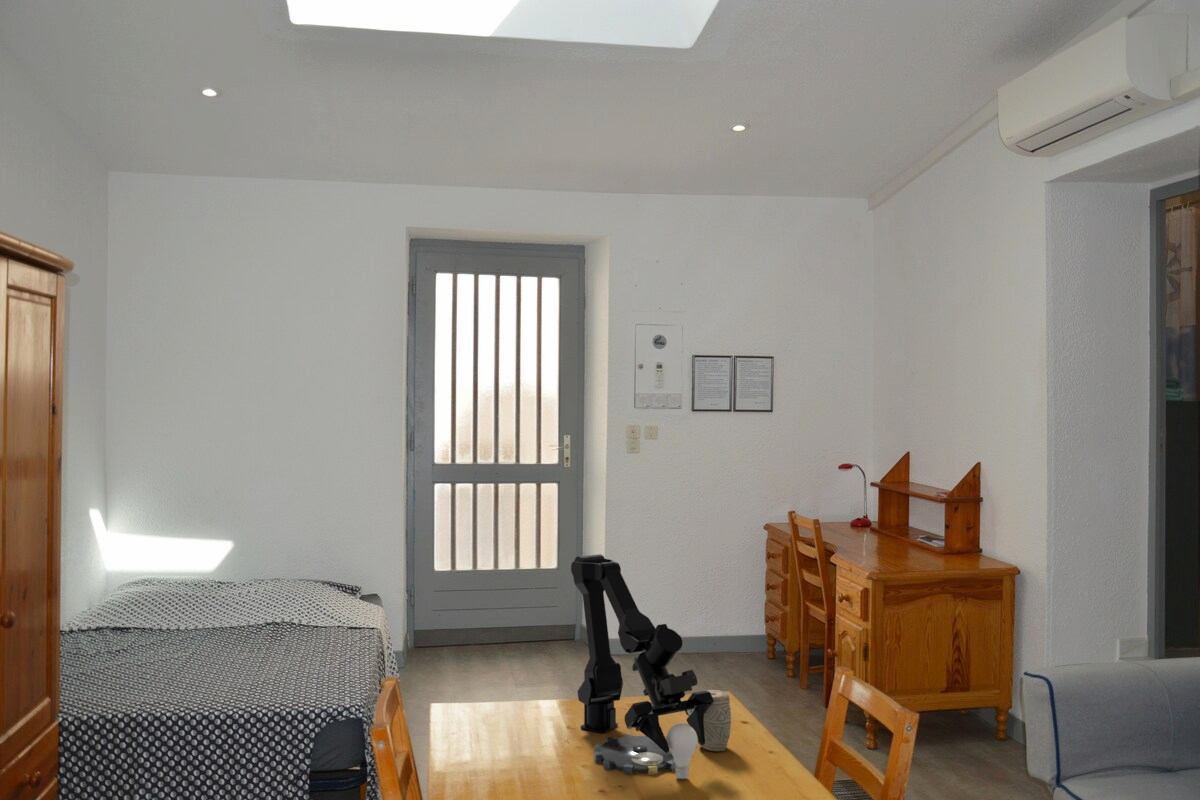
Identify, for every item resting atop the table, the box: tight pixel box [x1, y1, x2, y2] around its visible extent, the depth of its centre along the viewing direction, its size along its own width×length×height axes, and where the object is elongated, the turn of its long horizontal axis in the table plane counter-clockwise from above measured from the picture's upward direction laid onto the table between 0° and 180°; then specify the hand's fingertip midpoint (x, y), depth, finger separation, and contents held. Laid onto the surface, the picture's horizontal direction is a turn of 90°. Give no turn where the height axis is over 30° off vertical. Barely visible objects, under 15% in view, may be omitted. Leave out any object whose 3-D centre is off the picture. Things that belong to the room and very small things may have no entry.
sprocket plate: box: [593, 733, 676, 776], centre depth 206 cm, size 19×19×2 cm
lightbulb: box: [665, 722, 699, 781], centre depth 194 cm, size 6×6×11 cm
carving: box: [698, 689, 732, 752], centre depth 211 cm, size 6×8×12 cm
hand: (685, 748), depth 193 cm, fingers open, 8 cm apart
